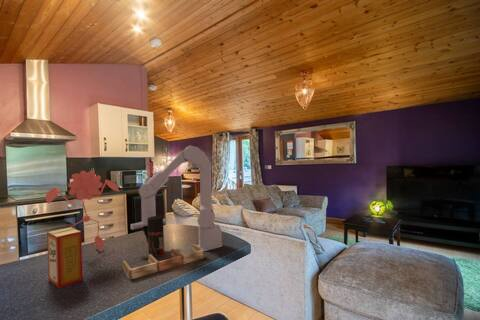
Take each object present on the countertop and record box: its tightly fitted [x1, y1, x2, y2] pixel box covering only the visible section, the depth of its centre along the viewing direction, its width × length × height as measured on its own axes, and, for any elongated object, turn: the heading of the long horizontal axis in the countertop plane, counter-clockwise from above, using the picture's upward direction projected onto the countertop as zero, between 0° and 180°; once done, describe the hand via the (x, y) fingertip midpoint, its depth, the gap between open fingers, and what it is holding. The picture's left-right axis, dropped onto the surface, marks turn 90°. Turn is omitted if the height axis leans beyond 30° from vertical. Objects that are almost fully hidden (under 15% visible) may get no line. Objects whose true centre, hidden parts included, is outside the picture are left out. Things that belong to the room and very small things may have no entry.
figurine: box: [45, 169, 120, 263], centre depth 101 cm, size 15×26×35 cm, turn 136°
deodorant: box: [147, 215, 165, 259], centre depth 100 cm, size 6×6×15 cm
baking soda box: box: [46, 227, 84, 289], centre depth 80 cm, size 10×6×16 cm
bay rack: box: [122, 243, 206, 281], centre depth 91 cm, size 27×10×3 cm, turn 126°
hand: (149, 242), depth 107 cm, fingers closed
